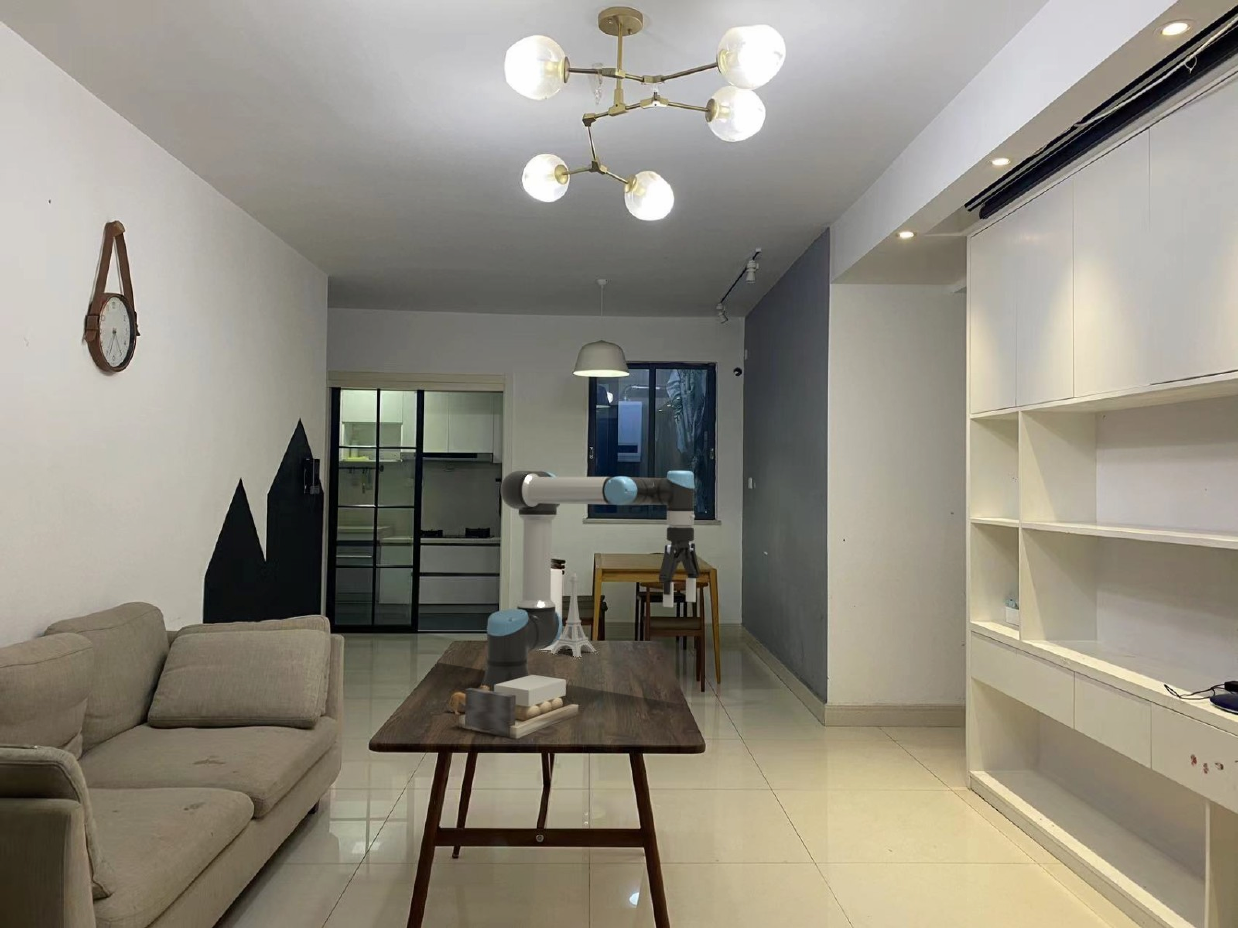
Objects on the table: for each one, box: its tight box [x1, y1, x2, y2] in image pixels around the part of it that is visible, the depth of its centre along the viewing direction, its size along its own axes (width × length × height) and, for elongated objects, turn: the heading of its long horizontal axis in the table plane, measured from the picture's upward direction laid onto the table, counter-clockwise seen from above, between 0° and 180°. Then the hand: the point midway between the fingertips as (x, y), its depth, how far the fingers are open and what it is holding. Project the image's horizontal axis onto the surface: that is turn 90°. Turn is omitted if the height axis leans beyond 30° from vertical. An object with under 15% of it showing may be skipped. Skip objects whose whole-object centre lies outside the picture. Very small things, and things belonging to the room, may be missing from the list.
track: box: [458, 687, 579, 739], centre depth 215 cm, size 18×26×10 cm
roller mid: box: [535, 701, 551, 716], centre depth 217 cm, size 12×4×4 cm, turn 59°
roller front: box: [515, 705, 540, 721], centre depth 213 cm, size 12×4×4 cm, turn 59°
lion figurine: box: [443, 685, 489, 715], centre depth 221 cm, size 12×4×7 cm, turn 93°
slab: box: [494, 674, 567, 707], centre depth 218 cm, size 11×16×4 cm
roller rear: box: [548, 697, 564, 712], centre depth 222 cm, size 12×4×4 cm, turn 59°
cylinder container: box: [538, 568, 563, 651], centre depth 311 cm, size 9×9×30 cm
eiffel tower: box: [549, 571, 597, 657], centre depth 304 cm, size 13×13×30 cm
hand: (679, 604), depth 232 cm, fingers open, 13 cm apart
